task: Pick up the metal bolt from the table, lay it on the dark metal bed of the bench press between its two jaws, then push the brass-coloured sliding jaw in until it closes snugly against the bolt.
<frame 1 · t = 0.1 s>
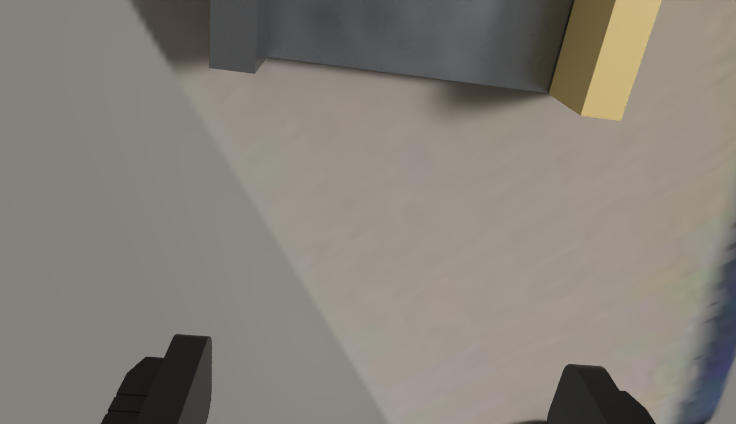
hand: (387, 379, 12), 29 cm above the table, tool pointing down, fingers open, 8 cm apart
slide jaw: (607, 24, 33), point 5 cm above the table, slide at 0.0 cm
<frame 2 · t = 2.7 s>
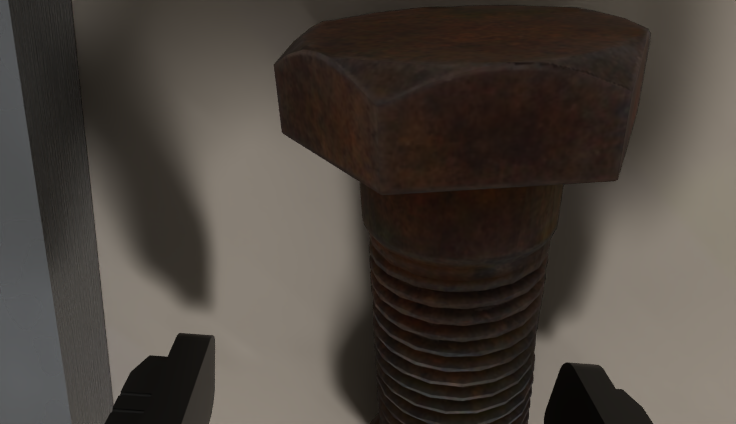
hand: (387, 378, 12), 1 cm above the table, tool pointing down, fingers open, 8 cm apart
bolt: (430, 319, 14), on the table
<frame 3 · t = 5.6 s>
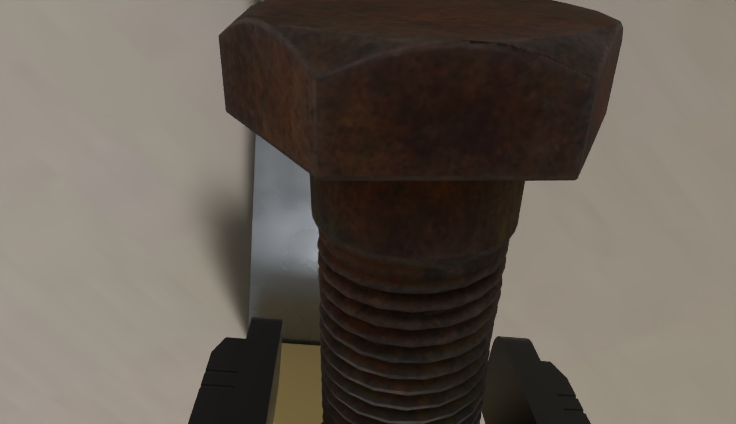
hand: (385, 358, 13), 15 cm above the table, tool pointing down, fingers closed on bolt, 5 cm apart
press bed: (361, 168, 27), on the table
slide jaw: (338, 402, 27), point 5 cm above the table, slide at 0.0 cm
bolt: (385, 322, 13), point 15 cm above the table, touching gripper
when the fingers open (3 cm above the table, at t = 8.3 s): bolt stays where it is, resting on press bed.
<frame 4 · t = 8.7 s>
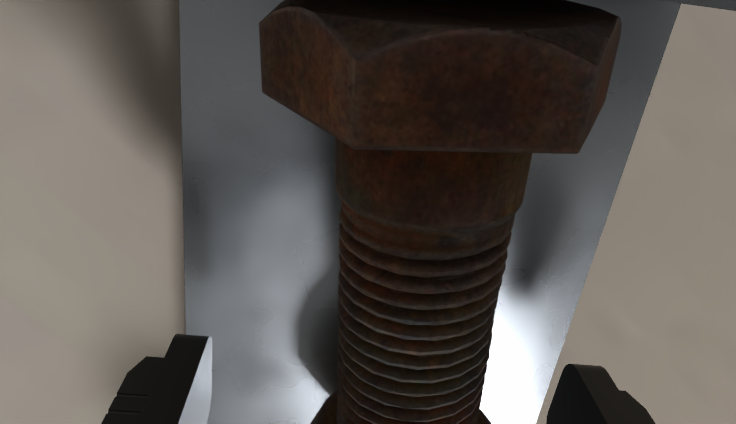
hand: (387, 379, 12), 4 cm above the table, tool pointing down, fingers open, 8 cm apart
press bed: (372, 309, 16), on the table
bolt: (394, 300, 14), point 2 cm above the table, touching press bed
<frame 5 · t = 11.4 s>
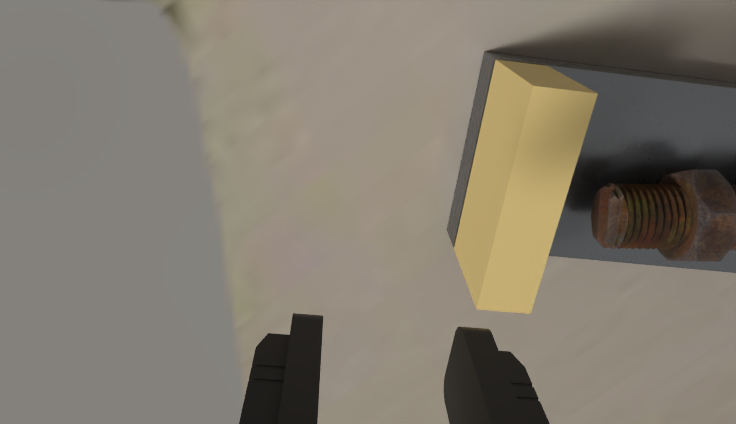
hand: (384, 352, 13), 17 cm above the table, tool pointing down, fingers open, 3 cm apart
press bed: (675, 170, 30), on the table
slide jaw: (512, 185, 25), point 5 cm above the table, slide at 0.0 cm
bolt: (720, 195, 29), point 2 cm above the table, touching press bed
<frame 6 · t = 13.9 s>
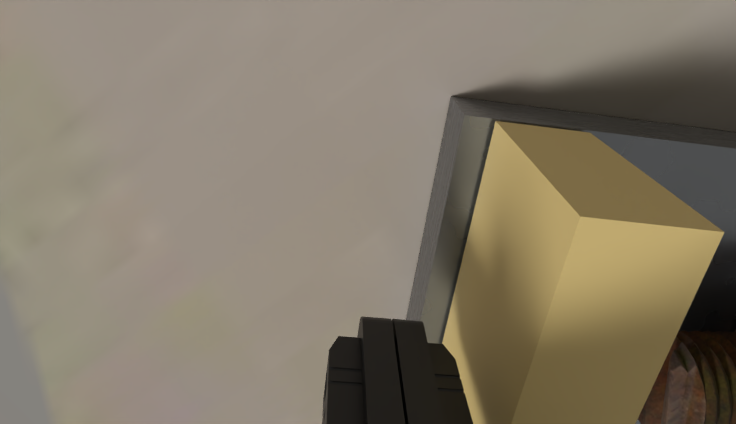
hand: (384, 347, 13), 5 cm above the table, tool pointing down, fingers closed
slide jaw: (525, 353, 14), point 5 cm above the table, slide at 0.8 cm, touching gripper
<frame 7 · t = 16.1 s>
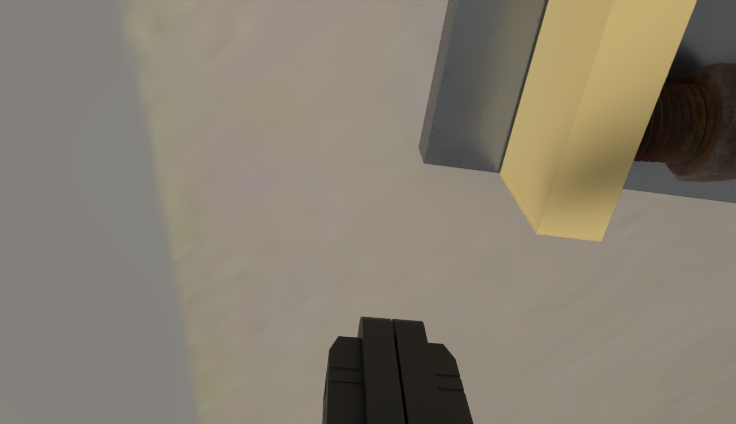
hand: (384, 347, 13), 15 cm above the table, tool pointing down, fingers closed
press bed: (690, 80, 25), on the table
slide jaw: (584, 85, 20), point 5 cm above the table, slide at 3.5 cm
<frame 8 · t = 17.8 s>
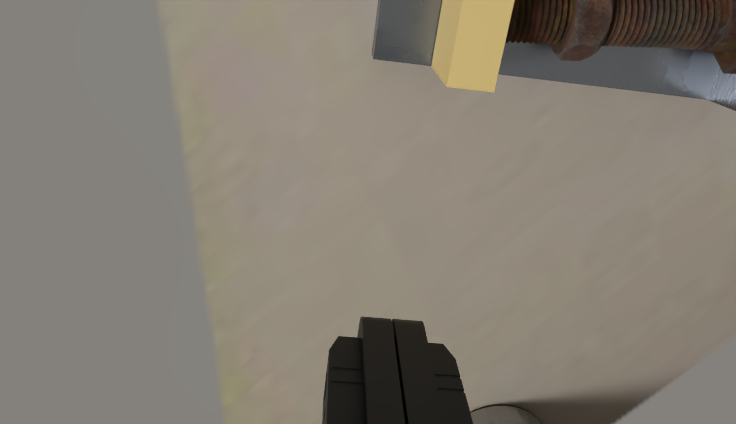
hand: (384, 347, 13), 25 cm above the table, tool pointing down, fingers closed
bolt: (613, 10, 32), point 2 cm above the table, touching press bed
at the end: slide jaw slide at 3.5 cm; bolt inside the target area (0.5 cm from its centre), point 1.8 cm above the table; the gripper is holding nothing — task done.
